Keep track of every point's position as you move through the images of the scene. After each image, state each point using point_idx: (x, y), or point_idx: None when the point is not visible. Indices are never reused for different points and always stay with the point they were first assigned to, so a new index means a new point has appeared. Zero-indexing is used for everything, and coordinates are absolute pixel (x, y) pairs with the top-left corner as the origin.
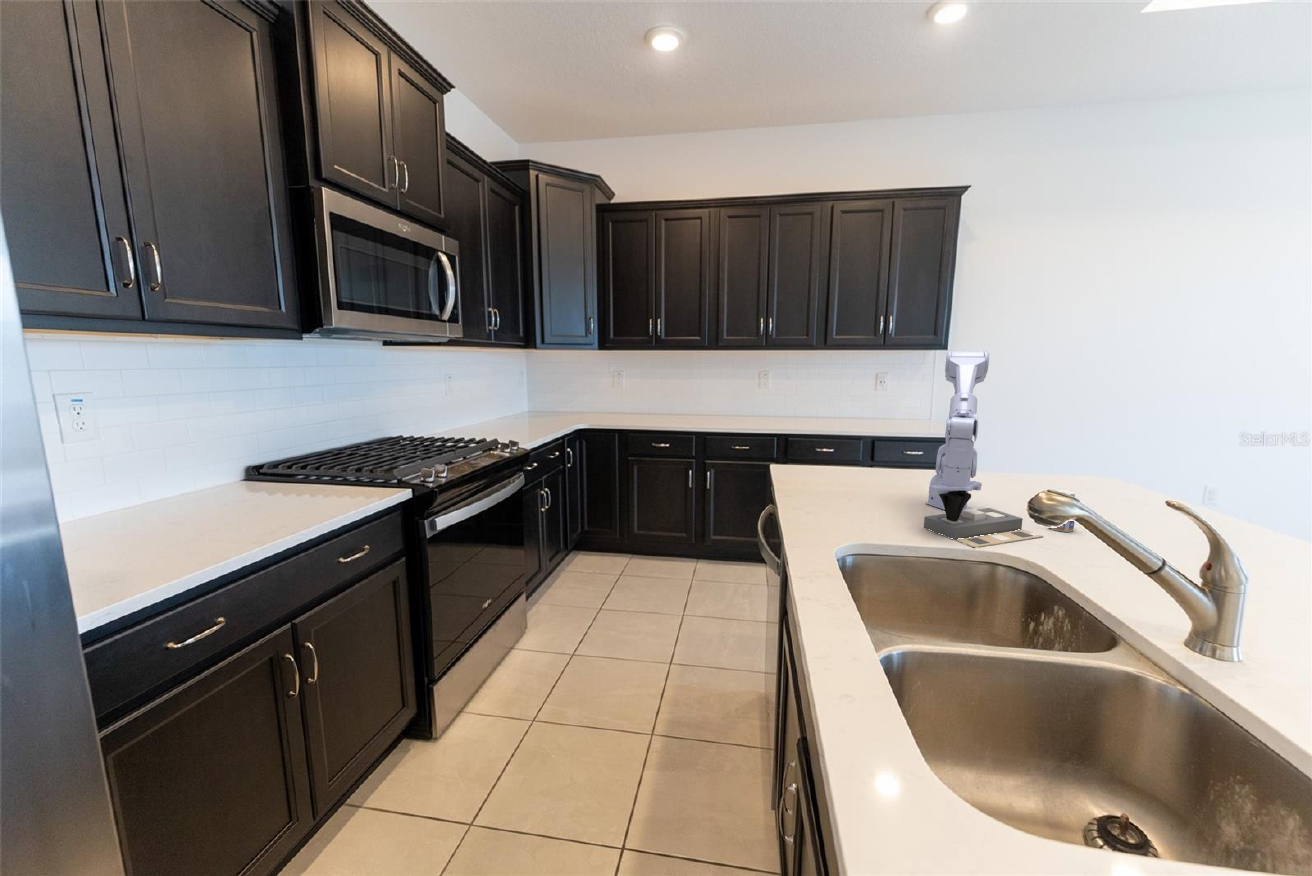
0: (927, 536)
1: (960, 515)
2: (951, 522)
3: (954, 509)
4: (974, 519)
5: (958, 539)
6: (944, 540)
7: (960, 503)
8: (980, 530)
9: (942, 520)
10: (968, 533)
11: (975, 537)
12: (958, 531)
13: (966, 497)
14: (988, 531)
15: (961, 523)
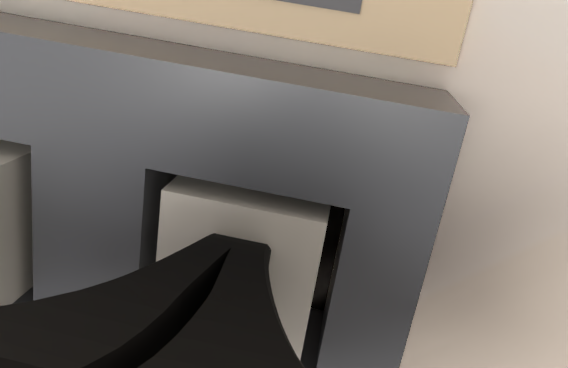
0: (560, 267)
1: None
2: (317, 242)
3: (278, 320)
4: (7, 163)
5: (433, 59)
6: (536, 131)
7: (176, 336)
8: (97, 37)
9: (333, 325)
10: (263, 63)
11: (223, 12)
12: (409, 95)
13: (27, 357)
14: (3, 18)
15: (244, 169)
